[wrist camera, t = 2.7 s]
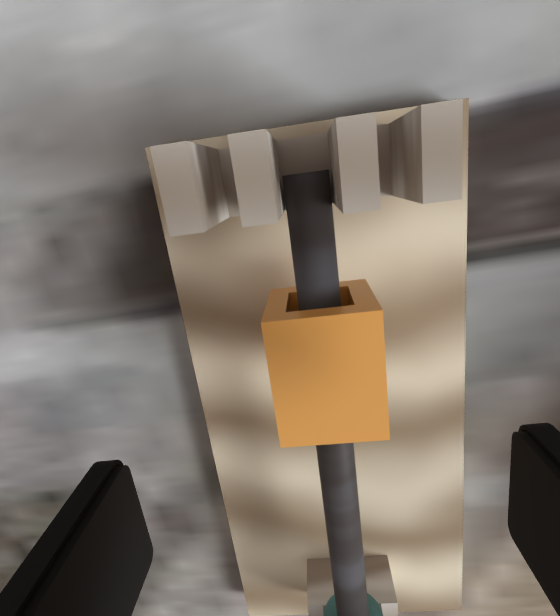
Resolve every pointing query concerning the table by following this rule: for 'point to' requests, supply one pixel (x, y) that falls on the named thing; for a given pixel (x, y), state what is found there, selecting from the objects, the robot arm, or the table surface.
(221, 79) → the table surface
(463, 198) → the cord board
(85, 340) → the table surface
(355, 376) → the sleeve
